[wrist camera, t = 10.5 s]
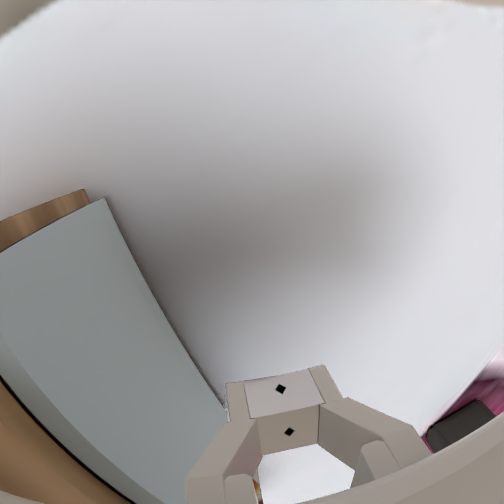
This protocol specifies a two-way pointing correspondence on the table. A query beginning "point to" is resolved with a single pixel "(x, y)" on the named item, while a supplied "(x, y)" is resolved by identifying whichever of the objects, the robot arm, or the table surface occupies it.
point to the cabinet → (22, 419)
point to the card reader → (459, 425)
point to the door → (102, 358)
